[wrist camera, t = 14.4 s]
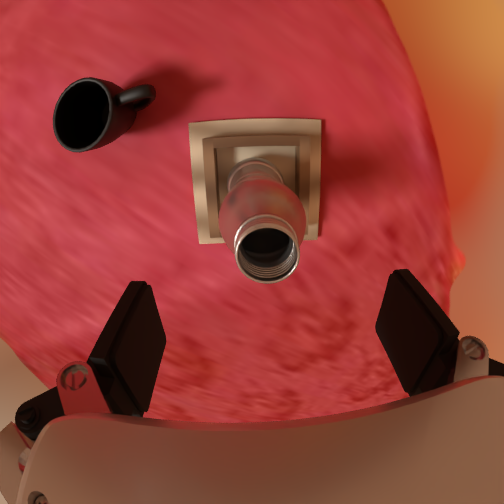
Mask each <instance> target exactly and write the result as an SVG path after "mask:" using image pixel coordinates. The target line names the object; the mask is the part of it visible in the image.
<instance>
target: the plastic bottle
mask: <svg viewBox="0 0 504 504" xmlns="http://www.w3.org/2000/svg"><path fill="white" fill-rule="evenodd" d="M227 189H228V194H227V196H226V197H225V199H224V201H223V203H222V205H221V208H220V211H219V218H218V221H219V229H220V232H221V236H222V237H223V239H224V241H225V243H226V245H227V246H228V248H229V249H230V250H231V251H232V252H233V253H234V254H235V259H236V262H237V265H238V267H239V269H240V270H241V272H242V273H243V274H244V275H245V276H247V277H248V278H249V279H251V280H253V281H256V282H259V283H265V284H269V283H276V282H279V281H282V280H284V279H286V278H287V277H289V276H290V275H291V274H292V273H293V272H294V270H295V269H296V267H297V265H298V263H299V259H300V249H299V247H300V245H301V243H302V241H303V239H304V235H305V230H306V214H305V210H304V207H303V205H302V203H301V201H300V200H299V198H298V197H297V195H296V194H295V193H294V192H293V191H292V190H291V189H290V188H288V187H287V186H286V185H284V180H283V176H282V174H281V172H280V171H279V169H278V168H277V167H276V166H275V165H274V164H273V163H271V162H270V161H268V160H266V159H263V158H258V157H252V158H246V159H244V160H242V161H240V162H238V163H237V164H236V165H235V166H234V167H233V168H232V170H231V171H230V173H229V176H228V179H227Z"/></svg>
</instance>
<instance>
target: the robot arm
mask: <svg viewBox="0 0 504 504" xmlns="http://www.w3.org/2000/svg"><path fill="white" fill-rule="evenodd" d="M375 329H376V333H377V335H378V337H379V339H380V341H381V343H382V345H383V347H384V349H385V351H386V353H387V355H388V357H389V359H390V361H391V363H392V365H393V367H394V369H395V372H396V374H397V376H398V378H399V380H400V382H401V385H402V387H403V389H404V391H405V392H407V393H408V394H409V396H410V397H408V398H405V399H401V400H397V401H394V402H390V403H386V404H382V405H378V406H374V407H370V408H365V409H360V410H355V411H350V412H345V413H339V414H334V415H327V416H321V417H313V418H305V419H296V420H286V421H273V422H254V423H205V422H186V421H173V420H161V419H152V418H143V414H144V412H147V411H148V409H149V405H150V401H151V397H152V393H153V389H154V385H155V382H156V378H157V374H158V370H159V367H160V363H161V359H162V356H163V352H164V349H165V345H166V335H165V332H164V329H163V326H162V322H161V319H160V316H159V312H158V309H157V305H156V302H155V298H154V295H153V291H152V288H151V286H150V285H147V283H146V282H145V281H131V282H130V283H129V285H128V286H127V288H126V290H125V292H124V293H123V295H122V297H121V298H120V300H119V302H118V304H117V305H116V307H115V309H114V311H113V312H112V314H111V316H110V318H109V320H108V321H107V323H106V325H105V327H104V329H103V331H102V333H101V334H100V336H99V338H98V340H97V342H96V344H95V346H94V348H93V350H92V352H91V354H90V356H89V358H88V360H87V362H86V363H85V362H82V361H74V362H71V363H69V364H67V365H65V366H64V367H63V368H62V369H61V370H60V372H59V373H58V375H57V379H56V382H57V386H56V387H54V388H52V389H50V390H48V391H46V392H44V393H42V394H41V395H38V396H36V397H34V398H32V399H30V400H28V401H27V402H25V403H23V404H22V405H21V406H20V407H19V408H18V410H17V412H16V416H15V423H13V422H10V423H9V424H8V425H7V426H6V427H5V428H4V429H3V430H2V431H1V432H0V491H1V493H2V495H3V496H4V498H5V500H6V501H7V502H8V504H504V364H503V363H500V362H497V361H495V360H493V359H490V358H489V354H488V349H487V347H486V345H485V344H484V343H483V342H482V341H481V340H480V339H478V338H476V337H474V336H465V337H463V338H461V340H460V341H459V340H458V338H457V337H458V335H459V333H460V332H459V331H458V330H457V328H456V327H455V326H454V324H453V323H452V322H451V320H450V319H449V318H448V316H447V315H446V314H445V313H444V311H443V310H442V309H441V308H440V306H439V305H438V304H437V303H436V301H435V300H434V299H433V298H432V296H431V295H430V294H429V293H428V292H427V290H426V289H425V288H424V287H423V286H422V285H421V283H420V282H419V281H418V280H417V279H416V278H415V277H414V275H413V274H412V273H411V272H410V271H409V270H408V269H399V270H394V271H393V273H392V274H390V276H389V279H388V283H387V287H386V291H385V294H384V298H383V301H382V305H381V308H380V312H379V315H378V318H377V321H376V325H375Z"/></svg>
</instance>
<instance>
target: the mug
mask: <svg viewBox="0 0 504 504" xmlns="http://www.w3.org/2000/svg"><path fill="white" fill-rule="evenodd" d="M155 97H156V91H155V88H154V86H152V85H148V84H145V85H140V86H136V87H133V88H130V89H127V90H125V91H124V90H123V89H122V88H120V87H119V86H117V85H116V84H114V83H112V82H109V81H105V80H101V79H97V78H92V77H89V78H82V79H79V80H77V81H75V82H74V83H72V84H70V85H69V86H68V87H67V88H66V89H65V90H64V92H63V93H62V94H61V96H60V97H59V99H58V101H57V103H56V106H55V110H54V115H53V128H54V133H55V136H56V138H57V140H58V141H59V143H60V144H61V145H62V146H63V147H64V148H65V149H67V150H69V151H72V152H84V151H89V150H93V149H97V148H100V147H102V146H105V145H107V144H109V143H111V142H113V141H114V140H116V139H117V138H118V137H120V136H121V135H122V134H124V133H125V132H126V131H127V130H128V129H129V128H130V127H131V126H132V124H133V123H134V121H135V118H136V111H139V110H142V109H144V108H146V107H147V106H148V105H149V104H150V103H152V102H153V101H154V99H155ZM135 100H136V101H135Z"/></svg>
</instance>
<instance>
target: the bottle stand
mask: <svg viewBox="0 0 504 504" xmlns="http://www.w3.org/2000/svg"><path fill="white" fill-rule="evenodd" d="M189 139H190V154H191V167H192V179H193V190H194V200H195V210H196V219H197V228H198V237H199V244H209V243H225V241H224V239H223V237H222V236H221V232H220V229H219V221H218V218H219V211H220V208H221V205H222V203H223V201H224V199H225V197H226V196H227V194H228V189H227V179H228V176H229V173H230V171H231V170H232V168H233V167H234V166H235V165H236V164H237V163H238V162H240V161H242V160H244V159H246V158H252V157H258V158H263V159H266V160H268V161H270V162H271V163H273V164H274V165H275V166H276V167H277V168H278V169H279V171H280V172H281V174H282V176H283V180H284V185H286V186H287V187H288V188H290V189H291V190H292V191H293V192H294V193H295V194H296V195H297V197H298V198H299V200H300V201H301V203H302V205H303V207H304V210H305V214H306V230H305V235H304V239H303V240H317V237H318V221H319V202H320V176H321V120H315V119H284V118H267V119H235V120H219V121H206V122H196V123H189Z"/></svg>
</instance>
